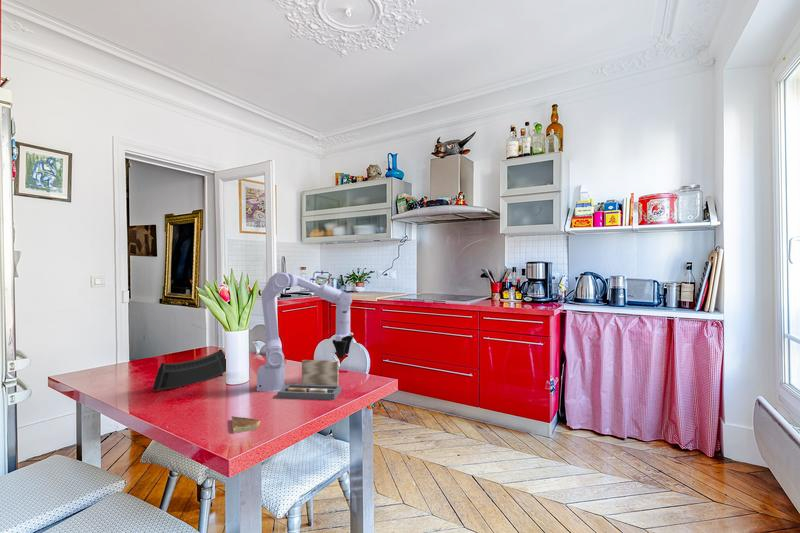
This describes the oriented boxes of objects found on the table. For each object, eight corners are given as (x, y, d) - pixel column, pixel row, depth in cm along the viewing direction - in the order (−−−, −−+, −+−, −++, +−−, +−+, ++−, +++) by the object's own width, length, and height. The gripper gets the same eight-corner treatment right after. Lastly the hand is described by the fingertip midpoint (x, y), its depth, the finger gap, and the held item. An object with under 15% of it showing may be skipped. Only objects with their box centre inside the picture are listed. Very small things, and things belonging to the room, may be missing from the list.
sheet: (301, 386, 147) (301, 360, 147) (303, 385, 148) (303, 359, 148) (337, 388, 145) (337, 361, 145) (338, 386, 147) (338, 360, 147)
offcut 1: (288, 396, 133) (288, 389, 133) (290, 394, 135) (290, 387, 135) (304, 397, 133) (304, 389, 133) (306, 395, 135) (306, 388, 135)
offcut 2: (308, 397, 133) (308, 390, 133) (310, 395, 135) (310, 388, 135) (325, 397, 132) (325, 390, 132) (327, 395, 134) (327, 388, 134)
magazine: (150, 370, 136) (222, 334, 161) (145, 369, 138) (217, 333, 163) (164, 412, 140) (232, 370, 166) (159, 410, 142) (227, 369, 167)
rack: (277, 399, 132) (277, 392, 132) (288, 390, 142) (288, 383, 142) (333, 401, 130) (333, 394, 130) (341, 392, 140) (341, 385, 140)
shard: (231, 421, 114) (231, 415, 114) (258, 417, 118) (258, 411, 118) (232, 435, 105) (232, 428, 105) (261, 430, 108) (261, 424, 108)
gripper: (348, 324, 145) (348, 360, 145) (357, 319, 160) (357, 352, 160) (330, 324, 146) (330, 360, 146) (340, 319, 161) (340, 352, 160)
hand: (343, 356), depth 153 cm, fingers open, 7 cm apart
